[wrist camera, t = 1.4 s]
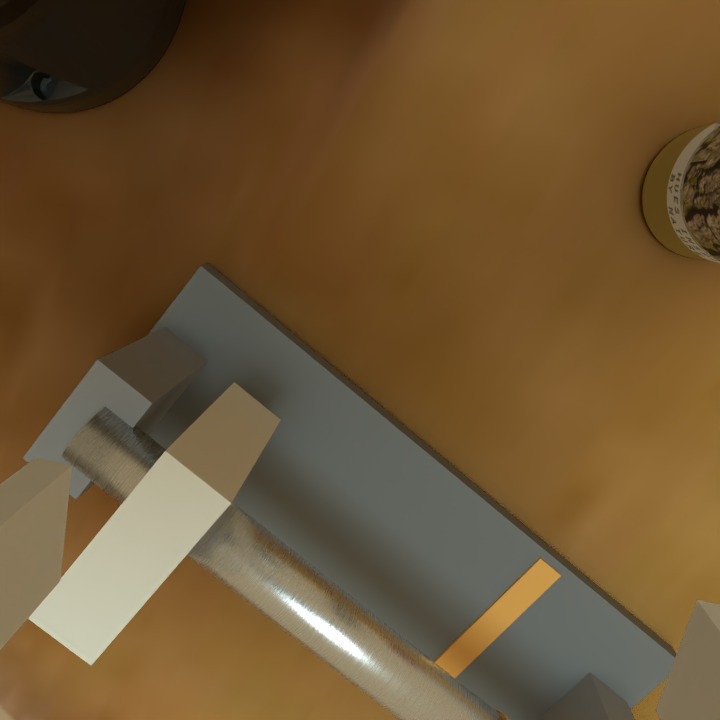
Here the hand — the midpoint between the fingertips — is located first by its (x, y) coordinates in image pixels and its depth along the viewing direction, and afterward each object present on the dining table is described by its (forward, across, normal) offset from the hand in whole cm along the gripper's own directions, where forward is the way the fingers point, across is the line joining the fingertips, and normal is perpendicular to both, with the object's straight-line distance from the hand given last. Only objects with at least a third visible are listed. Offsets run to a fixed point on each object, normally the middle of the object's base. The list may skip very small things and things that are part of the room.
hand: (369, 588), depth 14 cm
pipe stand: (+25, +2, -13) cm, 28 cm away
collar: (+20, -8, -7) cm, 22 cm away
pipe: (+16, +2, -13) cm, 21 cm away
